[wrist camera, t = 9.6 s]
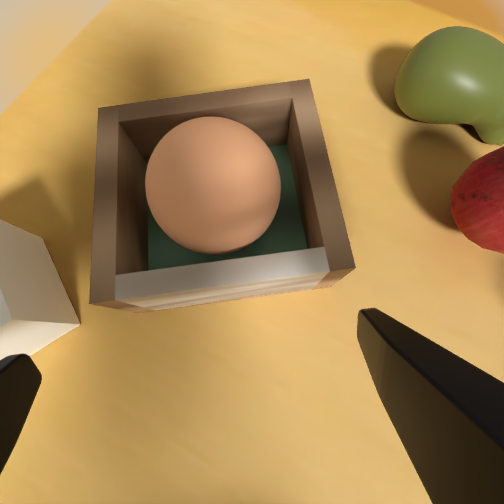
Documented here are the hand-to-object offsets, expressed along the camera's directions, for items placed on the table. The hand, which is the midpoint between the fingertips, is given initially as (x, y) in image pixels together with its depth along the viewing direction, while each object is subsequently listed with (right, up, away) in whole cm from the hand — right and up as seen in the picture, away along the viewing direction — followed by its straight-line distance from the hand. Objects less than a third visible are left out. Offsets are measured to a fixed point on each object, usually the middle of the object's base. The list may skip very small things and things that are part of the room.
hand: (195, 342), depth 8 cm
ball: (0, +5, +11) cm, 12 cm away
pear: (+17, +13, +14) cm, 25 cm away
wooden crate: (0, +5, +12) cm, 13 cm away
